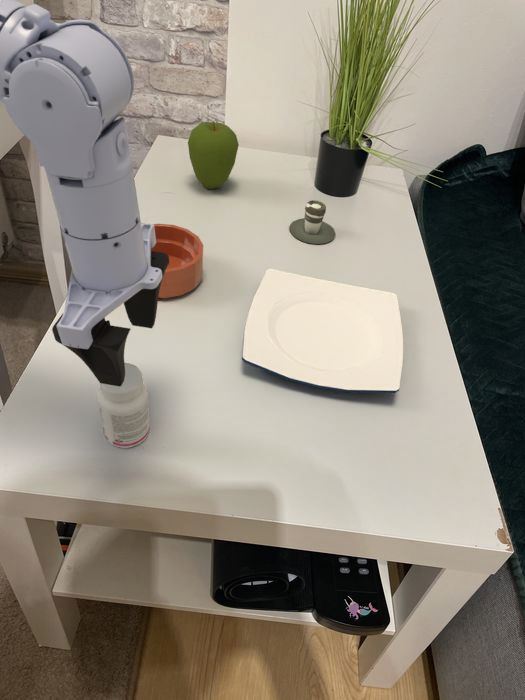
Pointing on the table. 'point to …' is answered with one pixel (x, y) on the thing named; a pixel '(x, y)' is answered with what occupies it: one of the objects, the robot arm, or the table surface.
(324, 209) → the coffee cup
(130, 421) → the pill bottle
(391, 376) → the plate
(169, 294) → the bowl
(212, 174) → the apple
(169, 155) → the table surface
